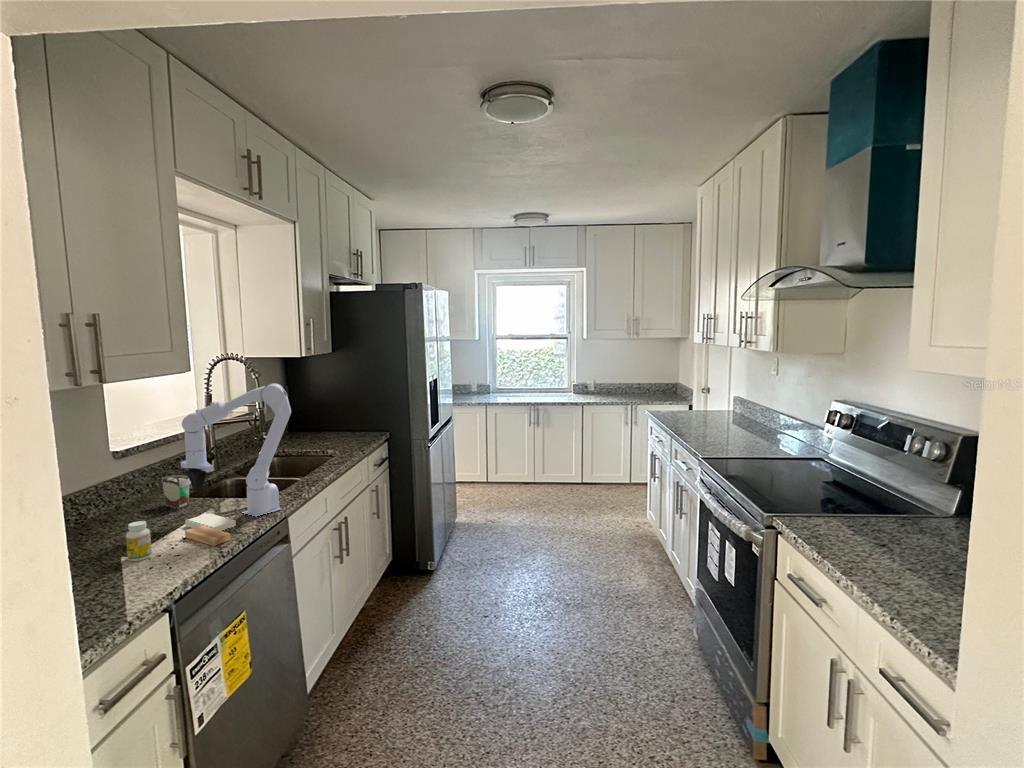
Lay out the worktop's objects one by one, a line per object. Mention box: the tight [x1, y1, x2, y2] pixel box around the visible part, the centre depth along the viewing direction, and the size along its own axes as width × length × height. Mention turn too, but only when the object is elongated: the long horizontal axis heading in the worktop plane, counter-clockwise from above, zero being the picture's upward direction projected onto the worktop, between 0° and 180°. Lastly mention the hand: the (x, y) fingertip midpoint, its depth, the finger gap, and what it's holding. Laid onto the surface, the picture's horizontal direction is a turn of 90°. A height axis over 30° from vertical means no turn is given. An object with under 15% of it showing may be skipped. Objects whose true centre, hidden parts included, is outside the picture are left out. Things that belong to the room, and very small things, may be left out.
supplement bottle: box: [125, 520, 153, 562], centre depth 142 cm, size 5×5×10 cm
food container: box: [161, 474, 192, 510], centre depth 187 cm, size 12×6×10 cm, turn 59°
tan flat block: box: [184, 525, 231, 547], centre depth 156 cm, size 5×14×2 cm, turn 61°
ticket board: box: [184, 513, 237, 531], centre depth 166 cm, size 8×14×2 cm, turn 61°
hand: (198, 491), depth 172 cm, fingers closed
